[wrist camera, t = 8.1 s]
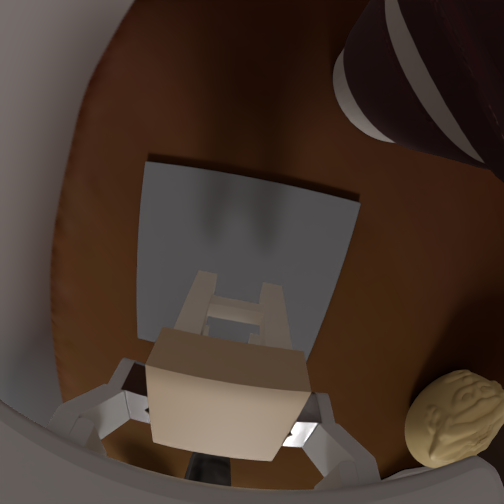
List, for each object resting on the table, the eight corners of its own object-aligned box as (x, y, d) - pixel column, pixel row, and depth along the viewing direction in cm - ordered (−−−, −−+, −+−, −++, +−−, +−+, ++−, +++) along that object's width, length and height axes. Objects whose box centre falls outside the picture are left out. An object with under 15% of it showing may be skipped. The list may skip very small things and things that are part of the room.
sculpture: (487, 344, 22) (533, 402, 12) (454, 408, 27) (483, 463, 17) (412, 368, 23) (455, 450, 13) (386, 431, 27) (407, 498, 17)
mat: (358, 202, 18) (360, 203, 17) (302, 365, 22) (303, 368, 22) (147, 161, 17) (145, 161, 16) (139, 335, 22) (137, 337, 21)
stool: (288, 281, 15) (311, 392, 8) (267, 353, 16) (271, 461, 9) (193, 263, 14) (145, 364, 7) (185, 338, 16) (153, 442, 9)
